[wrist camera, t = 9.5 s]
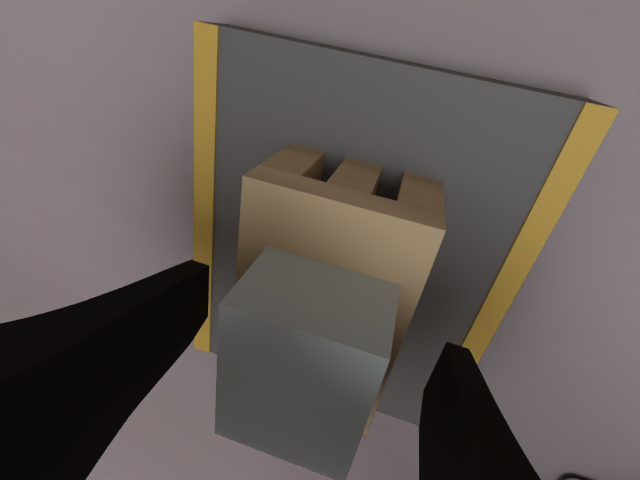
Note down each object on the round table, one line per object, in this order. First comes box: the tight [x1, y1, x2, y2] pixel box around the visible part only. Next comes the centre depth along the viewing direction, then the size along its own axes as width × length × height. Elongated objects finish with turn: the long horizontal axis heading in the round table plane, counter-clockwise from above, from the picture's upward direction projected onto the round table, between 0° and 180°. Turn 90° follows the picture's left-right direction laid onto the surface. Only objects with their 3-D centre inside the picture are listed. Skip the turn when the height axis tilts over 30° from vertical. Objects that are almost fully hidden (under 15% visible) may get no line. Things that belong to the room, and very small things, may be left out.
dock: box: [194, 21, 620, 425], centre depth 15 cm, size 14×12×2 cm
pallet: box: [235, 143, 446, 437], centre depth 12 cm, size 8×5×4 cm, turn 171°
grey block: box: [215, 246, 401, 480], centre depth 10 cm, size 4×4×3 cm
